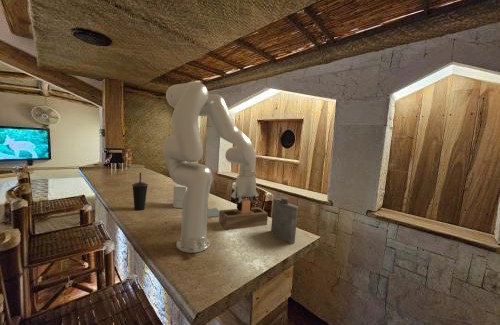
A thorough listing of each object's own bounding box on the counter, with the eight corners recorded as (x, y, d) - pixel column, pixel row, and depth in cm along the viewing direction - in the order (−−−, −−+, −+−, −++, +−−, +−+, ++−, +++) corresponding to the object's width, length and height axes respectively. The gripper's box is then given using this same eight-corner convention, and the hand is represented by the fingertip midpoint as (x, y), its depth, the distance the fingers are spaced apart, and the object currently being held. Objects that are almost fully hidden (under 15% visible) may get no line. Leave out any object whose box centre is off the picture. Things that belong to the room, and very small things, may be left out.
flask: (289, 244, 92) (293, 202, 90) (268, 231, 103) (271, 193, 101) (296, 243, 94) (300, 201, 92) (274, 230, 105) (277, 193, 103)
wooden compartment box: (266, 224, 111) (267, 213, 111) (226, 230, 101) (227, 217, 100) (257, 217, 120) (258, 207, 119) (218, 222, 110) (219, 210, 109)
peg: (249, 220, 109) (250, 201, 108) (241, 221, 108) (242, 201, 106) (245, 217, 113) (246, 198, 112) (237, 218, 111) (239, 199, 110)
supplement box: (189, 205, 133) (190, 184, 131) (185, 208, 125) (186, 187, 124) (178, 203, 133) (178, 183, 132) (172, 207, 126) (173, 185, 125)
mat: (223, 216, 118) (223, 215, 118) (201, 218, 113) (201, 217, 113) (216, 209, 129) (216, 208, 129) (195, 210, 123) (195, 209, 123)
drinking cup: (129, 211, 115) (130, 173, 112) (133, 207, 122) (134, 171, 120) (145, 211, 117) (146, 174, 114) (148, 206, 124) (149, 171, 122)
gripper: (258, 172, 115) (255, 205, 117) (227, 172, 107) (225, 208, 109) (265, 174, 108) (262, 210, 110) (233, 175, 101) (231, 213, 103)
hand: (244, 209), depth 110 cm, fingers open, 4 cm apart
